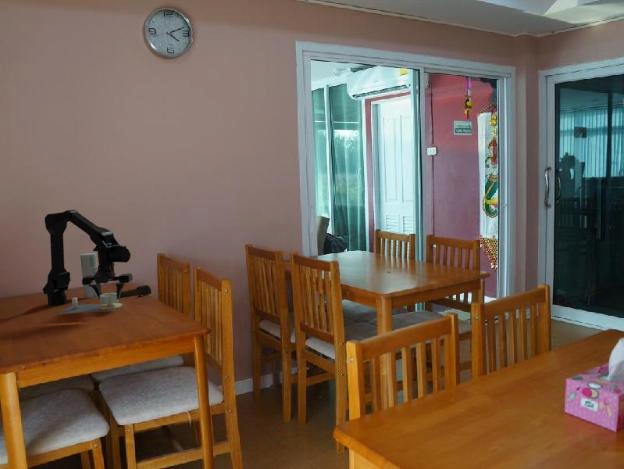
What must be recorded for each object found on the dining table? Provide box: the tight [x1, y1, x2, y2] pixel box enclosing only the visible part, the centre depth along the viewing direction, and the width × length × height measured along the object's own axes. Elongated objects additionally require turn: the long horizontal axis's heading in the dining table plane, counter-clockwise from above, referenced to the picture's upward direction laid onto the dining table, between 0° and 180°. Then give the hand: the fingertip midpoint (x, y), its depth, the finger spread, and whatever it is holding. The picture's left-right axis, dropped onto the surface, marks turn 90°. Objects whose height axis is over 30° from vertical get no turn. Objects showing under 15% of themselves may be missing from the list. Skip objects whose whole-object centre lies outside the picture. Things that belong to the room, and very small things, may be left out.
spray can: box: [79, 252, 99, 299], centre depth 253 cm, size 6×6×20 cm
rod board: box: [58, 295, 125, 315], centre depth 230 cm, size 22×14×6 cm, turn 91°
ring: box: [99, 292, 120, 304], centre depth 230 cm, size 7×7×3 cm
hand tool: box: [114, 284, 152, 299], centre depth 251 cm, size 19×4×5 cm, turn 125°
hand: (109, 300), depth 230 cm, fingers closed on ring, 7 cm apart
